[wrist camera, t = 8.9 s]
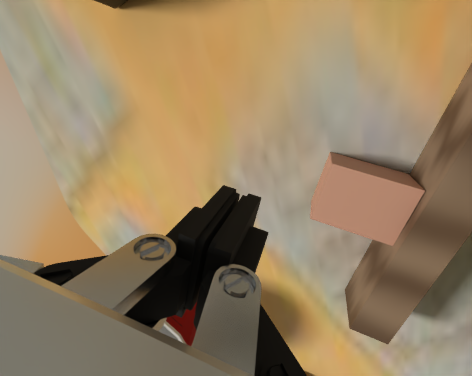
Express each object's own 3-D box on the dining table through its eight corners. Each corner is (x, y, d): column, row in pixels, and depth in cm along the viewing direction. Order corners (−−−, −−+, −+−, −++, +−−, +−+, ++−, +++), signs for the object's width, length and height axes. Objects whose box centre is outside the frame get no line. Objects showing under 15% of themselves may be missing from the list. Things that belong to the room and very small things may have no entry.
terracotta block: (330, 151, 28) (331, 163, 24) (407, 173, 27) (425, 190, 22) (311, 199, 31) (310, 218, 26) (381, 221, 29) (392, 246, 25)
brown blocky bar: (479, 49, 22) (531, 37, 16) (533, 60, 21) (606, 51, 16) (344, 289, 33) (349, 328, 28) (376, 302, 33) (387, 344, 27)
